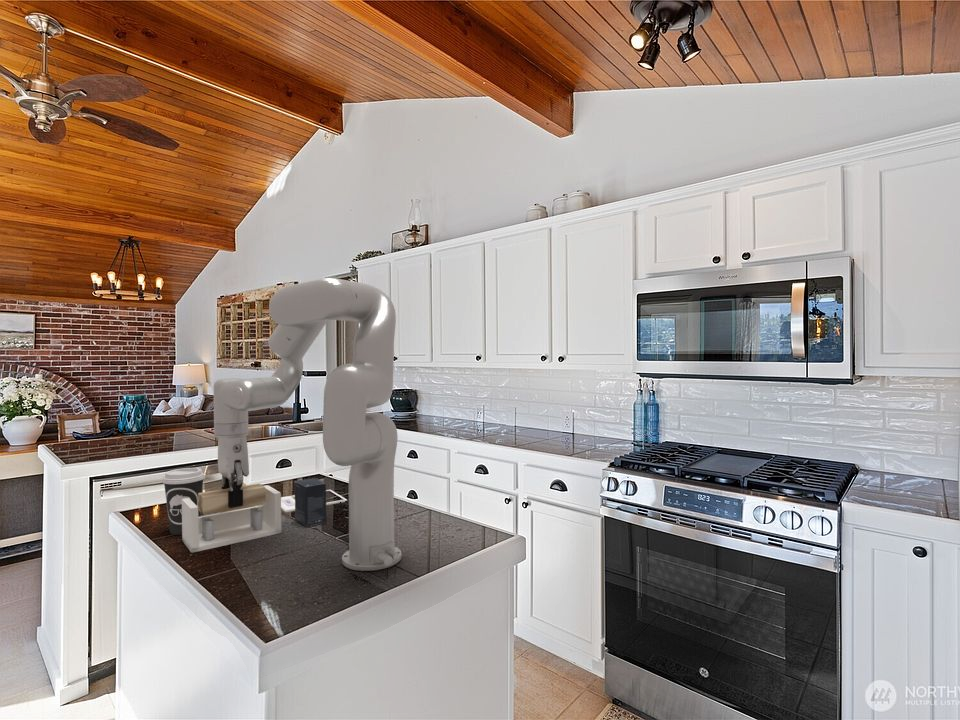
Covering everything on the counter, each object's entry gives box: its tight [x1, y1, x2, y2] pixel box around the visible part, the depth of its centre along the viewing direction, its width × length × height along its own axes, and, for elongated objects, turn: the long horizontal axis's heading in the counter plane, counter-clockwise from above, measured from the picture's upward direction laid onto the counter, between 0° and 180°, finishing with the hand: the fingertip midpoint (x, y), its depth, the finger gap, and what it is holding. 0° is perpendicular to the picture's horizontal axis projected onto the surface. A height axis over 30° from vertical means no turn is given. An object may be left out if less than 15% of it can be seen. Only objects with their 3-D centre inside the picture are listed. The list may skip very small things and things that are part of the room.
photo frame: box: [281, 489, 348, 513], centre depth 160 cm, size 15×1×18 cm
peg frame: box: [181, 484, 282, 554], centre depth 129 cm, size 10×20×10 cm, turn 130°
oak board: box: [198, 483, 266, 516], centre depth 129 cm, size 5×14×4 cm, turn 130°
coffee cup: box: [161, 467, 206, 536], centre depth 134 cm, size 10×10×15 cm
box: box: [294, 478, 327, 528], centre depth 140 cm, size 8×6×11 cm
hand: (232, 503), depth 129 cm, fingers closed on oak board, 5 cm apart
